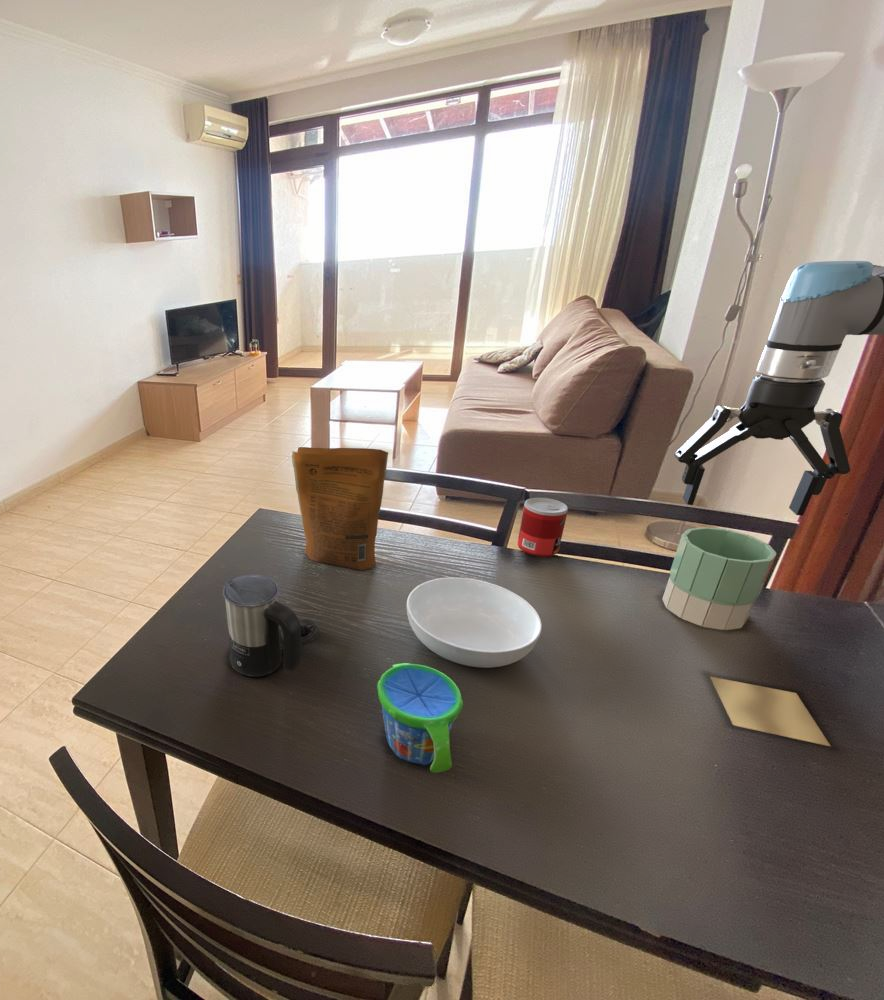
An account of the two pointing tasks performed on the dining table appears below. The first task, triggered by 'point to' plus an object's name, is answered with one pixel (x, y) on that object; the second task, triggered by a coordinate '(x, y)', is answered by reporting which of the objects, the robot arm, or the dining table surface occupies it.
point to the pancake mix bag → (340, 503)
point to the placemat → (768, 710)
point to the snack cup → (419, 713)
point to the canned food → (542, 526)
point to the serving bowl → (473, 621)
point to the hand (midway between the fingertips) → (739, 506)
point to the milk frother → (262, 627)
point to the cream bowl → (704, 610)
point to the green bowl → (721, 565)
